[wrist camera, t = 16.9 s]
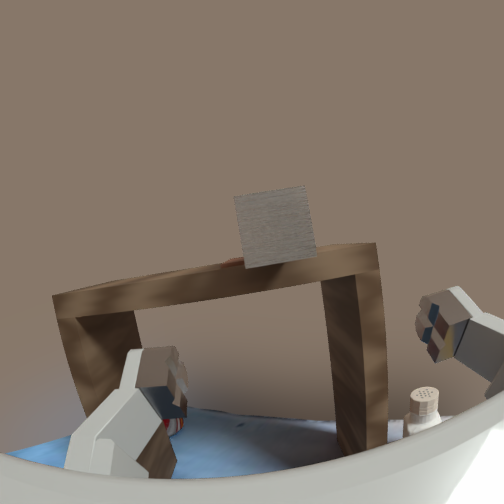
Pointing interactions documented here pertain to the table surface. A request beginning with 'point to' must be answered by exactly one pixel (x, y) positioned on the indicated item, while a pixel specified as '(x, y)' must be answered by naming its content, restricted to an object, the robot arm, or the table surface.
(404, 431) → the pepper shaker
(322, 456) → the table surface
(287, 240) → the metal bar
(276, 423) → the table surface
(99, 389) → the walnut shelf
